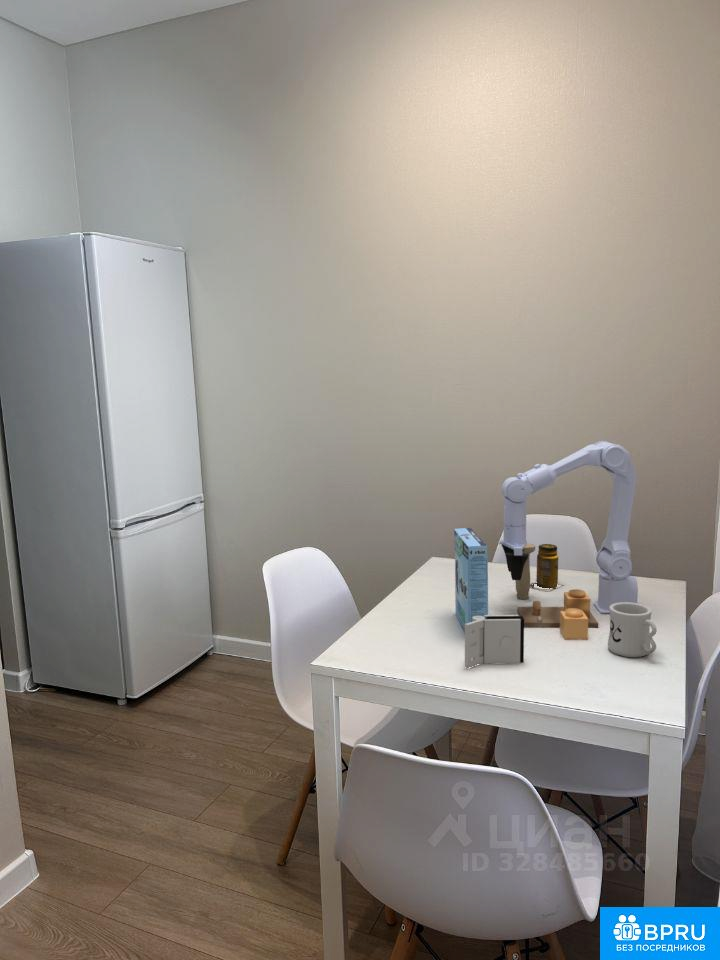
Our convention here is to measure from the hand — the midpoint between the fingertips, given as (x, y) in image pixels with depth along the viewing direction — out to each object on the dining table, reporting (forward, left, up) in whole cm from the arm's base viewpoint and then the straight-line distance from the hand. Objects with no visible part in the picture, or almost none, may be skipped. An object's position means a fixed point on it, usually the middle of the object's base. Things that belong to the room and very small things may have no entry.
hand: (514, 575), depth 193 cm
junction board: (-10, +5, -10) cm, 15 cm away
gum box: (+12, +10, -10) cm, 19 cm away
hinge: (+9, +33, -10) cm, 36 cm away
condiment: (-12, -23, -10) cm, 28 cm away
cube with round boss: (-12, +16, -10) cm, 22 cm away
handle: (-4, -12, -10) cm, 16 cm away
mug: (-23, +27, -10) cm, 37 cm away
